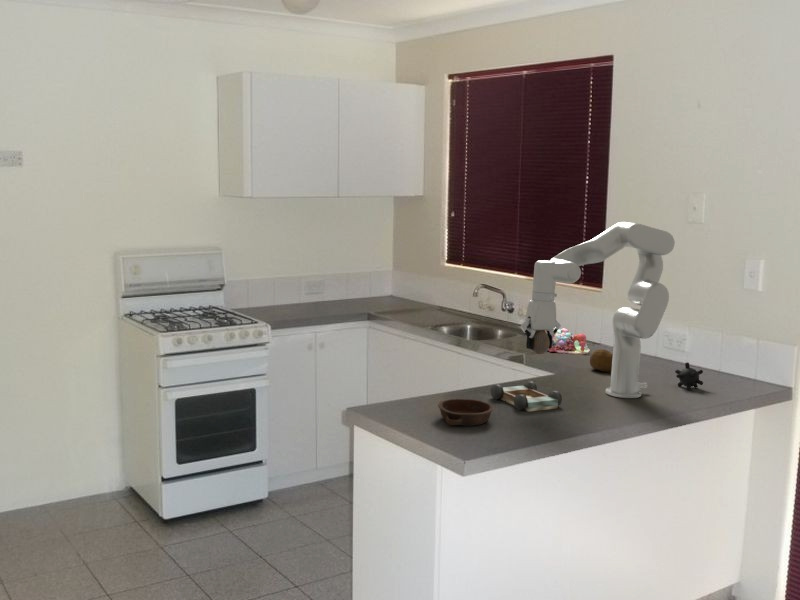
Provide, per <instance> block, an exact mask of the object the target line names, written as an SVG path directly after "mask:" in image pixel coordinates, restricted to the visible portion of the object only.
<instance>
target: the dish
mask: <svg viewBox="0 0 800 600" xmlns="http://www.w3.org/2000/svg"><path fill="white" fill-rule="evenodd" d="M437 407H438V408H439V411H440V414H441V417H442V418H443V420H444V421H445V422H446V424H448V425H449V426H469V427H470V426H472V427H473V426H478V425H482V424H484V423H487V422H488V421H489V419H490V417H491V415H492V412H493V411H494V409H495V407H494V405H492V404H491V403H489V402H487V401H484V400H478V399H473V398H450V399H445V400H442V401H439V403H438V404H437Z"/></svg>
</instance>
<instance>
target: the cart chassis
mask: <svg viewBox="0 0 800 600" xmlns="http://www.w3.org/2000/svg"><path fill="white" fill-rule="evenodd" d="M537 390H538V386H537V384H536V382H534V381H533V380H532V381H525V383H524V385H516V386H504V387H503V386H502V385H501V384H492V385H491V388H490V395H491V398H492V399H494V400H500V401H501V400H502V401H503V402H505V401H506V403H508V404H510V405H512V406H514V407H515V409H516V410H518V411H527V412H529V413H530V412H537V411H544V410H545V411H546V410H553V409H559V408H558V406H560V405H561V404H562V403H563V402H562V401H563V398H562V394H561V392H560V391H558V390H552V391H549V392H548V395H547V394H545V393H542V392H540V391H537Z"/></svg>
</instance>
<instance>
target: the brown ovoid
mask: <svg viewBox="0 0 800 600" xmlns="http://www.w3.org/2000/svg"><path fill="white" fill-rule="evenodd" d="M533 338H534V347H533V350H531V349H530V351H531V352H532V353H533V354H536V355H545V354H546V353H547V352H549V350H548V349H549V345H550V340H549V337H548V335H547V333H546V332H545V330H536V332H535V334H534V336H533Z"/></svg>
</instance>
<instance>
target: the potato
mask: <svg viewBox="0 0 800 600" xmlns="http://www.w3.org/2000/svg"><path fill="white" fill-rule="evenodd" d="M612 358H613V352H610V351H609V350H607V349H596V350H594V351H593V352H592V354H591V355H590V358H589V364H590V367H591V368H592V369H595V370H597V371H600V372H604V373H611V371H612Z"/></svg>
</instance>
